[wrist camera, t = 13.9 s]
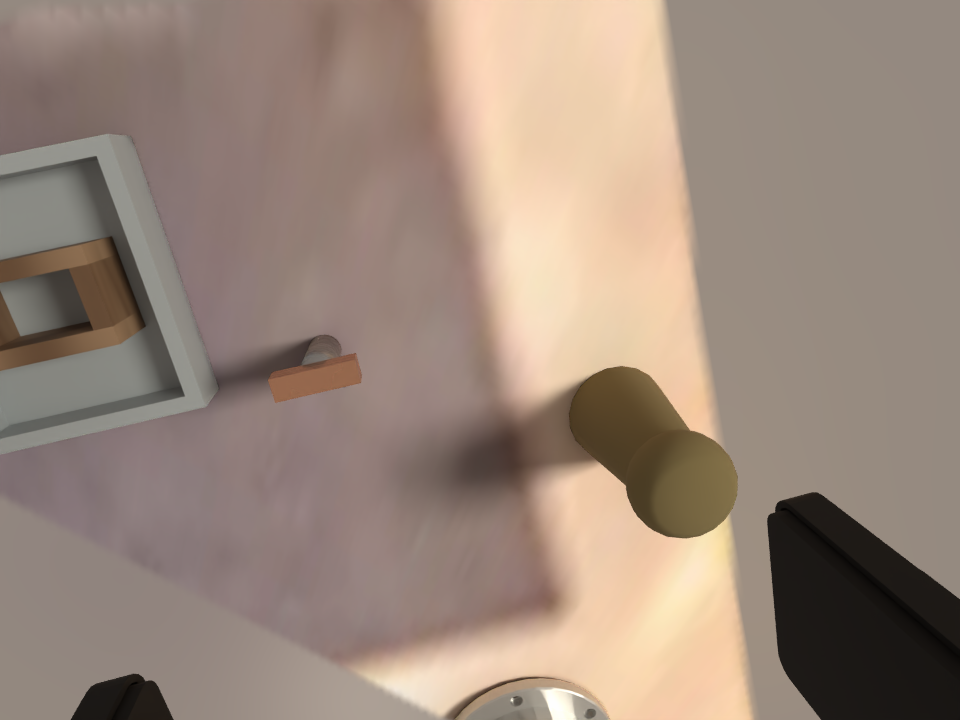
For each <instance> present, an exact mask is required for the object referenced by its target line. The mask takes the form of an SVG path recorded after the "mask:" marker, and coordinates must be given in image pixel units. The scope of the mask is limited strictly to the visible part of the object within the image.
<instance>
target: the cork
mask: <svg viewBox="0 0 960 720" xmlns="http://www.w3.org/2000/svg"><path fill="white" fill-rule="evenodd" d="M569 418H570V428H571V431H572V433H573V435H574V437H575V439H576V441H577V442H578V443H579V444H580V445H581V446H582V447H583V448H584V449H585V450H586V451H587V452H588V453H589V454H590V455H592V456H593V457H594V458H595V459H596V460H597V461H598V462H600V463H601V464H602V465H603V466H604V467H605V468H606V469H608V470H609V471H610V472H611V473H612V474H613V475H614V476H616V477H617V478H618V479H619V480H620V481H621V482H622V483H624V484H625V485H626V491H627V496H628V499H629V501H630V503H631V506H632V508H633V510H634V512H635V513H636V515H637V516H638V517H639V518H640V519H641V520H642V521H643V522H644V523H645V524H646V525H647V526H648V527H649V528H651V529H652V530H654V531H656V532H658V533H660V534H662V535H665V536H667V537H676V538H691V537H697V536H701V535H703V534H705V533H707V532H709V531H711V530H713V529H715V528H716V527H717V526H718V525H719V524H721V523H722V522H723V521H724V520H725V519H726V517H727V516H728V514H729V513H730V511H731V510H732V509H733V506H734V503H735V500H736V497H737V479H738V476H737V473H736V470H735V467H734V465H733V462H732V460H731V458H730V457H729V455H728V454H727V453H726V452H725V451H724V449H723V448H722V447H721V446H720V445H719V444H718V443H716V442H715V441H714V440H712V439H710V438H708V437H706V436H705V435H703V434H701V433H698V432H694V431H690V430H689V428H688V427H687V426H686V424H685V423H684V421H683V420H682V419H681V417H680V416H679V414H678V413H677V411H676V410H675V409H674V407H673V406H672V404H671V403H670V402H669V400H668V399H667V397H666V396H665V395H664V393H663V392H662V390H661V389H660V388H659V386H658V385H657V384H656V383H655V382H654V380H653V379H652V378H651V377H650V376H649V375H647V374H646V373H644V372H642V371H640V370H638V369H636V368H630V367H623V366H620V367H614V368H607V369H605V370H603V371H601V372H599V373H597V374H595V375H593V376H591V377H590V378H589V379H588V380H587V381H586V382H585V383H584V384H583V385H581V387H580V388H579V390H578V391H577V393H576V395H575V396H574V398H573V400H572V404H571V408H570V412H569Z"/></svg>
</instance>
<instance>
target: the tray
mask: <svg viewBox="0 0 960 720" xmlns="http://www.w3.org/2000/svg"><path fill="white" fill-rule="evenodd" d="M110 236H112V238H113V240H114V243H115V246H116V248H117V251H118V254H119V256H120V259H121V261H122V264H123V267H124V269H125V272H126V275H127V277H128V280H129V283H130V285H131V288H132V291H133V293H134V296H135V299H136V301H137V304H138V307H139V309H140V312H141V315H142V317H143V320H144V323H145V325H146V327H144V328H143V329H141V330H140V331H139V332H137V333H136V334H134V335H133V336H131V337H130V338H128V339H127V340H126V341H124V342H123V343H121V344H119V345H115V346H110V347H106V348H101V349H97V350H92V351H88V352H83V353H79V354H74V355H70V356H65V357H61V358H56V359H52V360H47V361H43V362H38V363H34V364H29V365H25V366H21V367H16V368H12V369H7V370H3V371H0V454H5V453H9V452H13V451H18V450H22V449H26V448H31V447H35V446H39V445H44V444H48V443H52V442H57V441H61V440H65V439H69V438H74V437H78V436H82V435H87V434H91V433H95V432H100V431H104V430H108V429H113V428H117V427H121V426H126V425H130V424H134V423H139V422H143V421H147V420H152V419H156V418H160V417H165V416H169V415H173V414H178V413H182V412H186V411H190V410H195V409H199V408H203V407H206V406H207V405H208V403H209V402H210V401H211V399H212V398H213V397H214V395H215V394H216V393H217V391H218V390H219V387H218V384H217V381H216V378H215V375H214V373H213V370H212V367H211V364H210V361H209V358H208V355H207V353H206V350H205V347H204V344H203V341H202V338H201V335H200V333H199V330H198V327H197V324H196V321H195V318H194V315H193V313H192V310H191V307H190V304H189V301H188V298H187V295H186V293H185V290H184V287H183V284H182V281H181V278H180V275H179V273H178V270H177V267H176V264H175V261H174V258H173V255H172V252H171V250H170V247H169V244H168V241H167V238H166V235H165V232H164V230H163V227H162V224H161V221H160V218H159V215H158V212H157V210H156V207H155V204H154V201H153V198H152V195H151V192H150V190H149V187H148V184H147V181H146V178H145V175H144V172H143V170H142V167H141V164H140V161H139V158H138V155H137V152H136V150H135V147H134V144H133V141H132V138H131V136H125V135H114V134H105V135H100V136H95V137H90V138H85V139H80V140H75V141H70V142H65V143H60V144H55V145H50V146H45V147H40V148H35V149H30V150H25V151H20V152H15V153H10V154H5V155H0V260H2V259H6V258H11V257H16V256H21V255H25V254H30V253H35V252H39V251H44V250H49V249H54V248H58V247H63V246H68V245H72V244H77V243H82V242H87V241H91V240H96V239H101V238H106V237H110ZM0 291H1V293H2V296H3V298H4V300H5V302H6V305H7V307H8V309H9V311H10V314H11V316H12V318H13V320H14V323H15V325H16V327H17V330H18V332H19V334H20V336H25V335H29V334H34V333H38V332H43V331H47V330H52V329H56V328H61V327H65V326H70V325H74V324H79V323H84V322H88V321H90V320H89V318H88V315H87V313H86V311H85V308H84V306H83V303H82V301H81V298H80V296H79V293H78V291H77V288H76V286H75V283H74V281H73V278H72V276H71V273H70V271H69V268H68V269H64V270H59V271H54V272H50V273H45V274H40V275H36V276H31V277H26V278H22V279H17V280H12V281H8V282H3V283H0Z"/></svg>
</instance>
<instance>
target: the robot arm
mask: <svg viewBox="0 0 960 720" xmlns="http://www.w3.org/2000/svg"><path fill="white" fill-rule="evenodd" d="M767 523H768V524H767V525H768V537H769V549H770V561H771V573H772V584H773V596H774V608H775V621H776V632H777V645H778V654H779V658H780V661H781V664H782V666H783V669H784V671H785V672H786V674H787V676H788V677H789V679H790V680H791V681H792V683H793V684H794V685H795V687H796V688H797V689H798V691H799V692H800V693H801V694H802V696H803V697H804V698H805V700H806V701H807V702H808V703H809V705H810V706H811V707H812V708H813V710H814V711H815V712H816V714H817V715H818V716H819V717H820V719H821V720H960V599H959V598H957V597H956V596H955V595H953V594H952V593H951V592H950V591H948V590H947V589H946V588H944V587H943V586H941V585H940V584H939V583H938V582H936V581H935V580H934V579H932V578H931V577H930V576H928V575H927V574H926V573H925V572H923V571H921V570H920V569H918V568H917V567H916V566H914V565H913V564H912V563H910V562H909V561H908V560H906V559H905V558H904V557H902V556H901V555H900V554H899V553H897V552H896V551H894V550H893V549H892V548H891V547H889V546H888V545H887V544H885V543H884V542H883V541H882V540H880V539H879V538H877V537H876V536H875V535H874V534H872V533H871V532H870V531H868V530H867V529H866V528H864V527H863V526H862V525H861V524H859V523H858V522H857V521H855V520H854V519H853V518H851V517H850V516H849V515H848V514H846V513H845V512H843V511H842V510H841V509H840V508H838V507H837V506H836V505H834V504H833V503H832V502H830V501H829V500H828V499H827V498H825V497H824V496H822V495H821V494H819V493H816V492H815V493H814V492H812V493H808V494H804V495H801V496H797V497H794V498H789V499H786V500H782V501H779V502H778V503H777V505H776V508H775V513H772V514H770V515H769V516H768V520H767ZM71 720H173V718H172V716H171V714H170V711H169V709H168V707H167V705H166V703H165V700H164V698H163V696H162V694H161V692H160V690H159V687H158V686H157V684H156V683H155V682H154V681H145V680H144V678H143V677H142V676H140V675H139V674H131V675H127V676H123V677H119V678H116V679H112V680H108V681H104V682H101V683H97V684H95V685H93V686H91V687H90V689H89V690H88V691H87V692H86V694H85V696H84V698H83V699H82V701H81V703H80V705H79V706H78V708H77V710H76V712H75V713H74V715H73V717H72V719H71ZM455 720H610V718H609V716H608V714H607V711H606V709H605V708H604V707H603V705H602V704H601V703H600V702H599V700H598V699H597V698H596V697H594V696H593V695H592V694H591V693H589V692H588V691H587V690H585V689H583V688H581V687H579V686H577V685H575V684H572V683H569V682H565V681H561V680H556V679H545V678H538V679H524V680H520V681H516V682H511V683H507V684H505V685H502V686H500V687H497V688H495V689H492V690H490V691H489V692H487V693H485V694H483V695H482V696H480V697H478V698H477V699H475V700H474V701H473V702H472V703H470V704H469V705H468V706H467V707H466V708H464V709H463V710H462V712H461V713H460V714H459V715H458V716H457V717H456V719H455Z"/></svg>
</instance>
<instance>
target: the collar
mask: <svg viewBox="0 0 960 720" xmlns="http://www.w3.org/2000/svg"><path fill="white" fill-rule="evenodd" d="M68 268H69V271H70V273H71V276H72V278H73V281H74V283H75V286H76V288H77V291H78V293H79V296H80V298H81V301H82V303H83V306H84V308H85V311H86V313H87V315H88V318H89V320H90V321H88V322H84V323H79V324H74V325H70V326H65V327H61V328H56V329H52V330H47V331H43V332H38V333H34V334H29V335H25V336H20V334H19V332H18V330H17V327H16V325H15V323H14V320H13V318H12V316H11V314H10V311H9V309H8V307H7V305H6V302H5V300H4V298H3V296H2V293H1V291H0V371H3V370H7V369H12V368H16V367H21V366H25V365H29V364H34V363H38V362H43V361H47V360H52V359H56V358H61V357H65V356H70V355H74V354H79V353H83V352H88V351H92V350H97V349H101V348H106V347H110V346H115V345H119V344H121V343H123V342H124V341H126V340H127V339H128V338H130V337H131V336H133V335H134V334H136V333H137V332H139V331H140V330H141V329H143V328H144V327H146V325H145V323H144V320H143V317H142V315H141V312H140V309H139V307H138V304H137V301H136V299H135V296H134V293H133V291H132V288H131V285H130V283H129V280H128V277H127V275H126V272H125V269H124V267H123V264H122V261H121V259H120V256H119V254H118V251H117V248H116V246H115V243H114V240H113V238H112V236H110V237H106V238H101V239H96V240H91V241H87V242H82V243H77V244H72V245H68V246H63V247H58V248H54V249H49V250H44V251H39V252H35V253H30V254H25V255H21V256H16V257H11V258H6V259H2V260H0V283H3V282H8V281H12V280H17V279H22V278H26V277H31V276H36V275H40V274H45V273H50V272H54V271H59V270H64V269H68Z"/></svg>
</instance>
